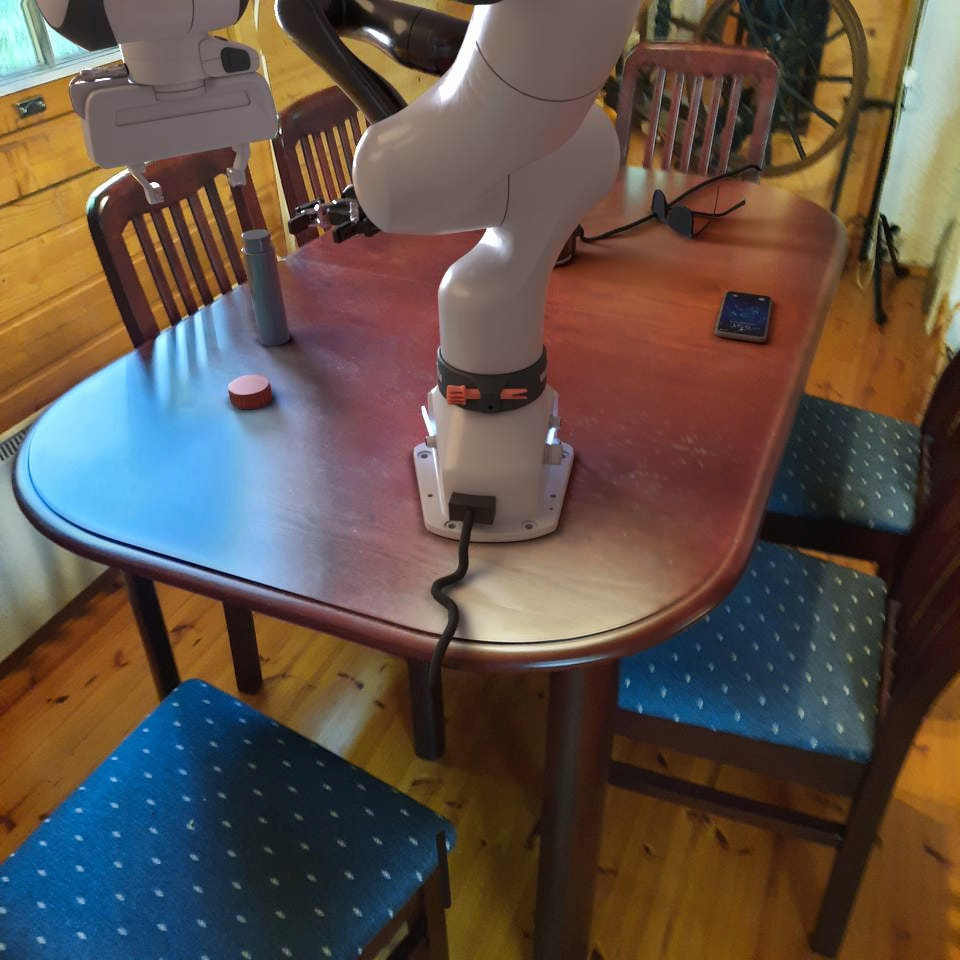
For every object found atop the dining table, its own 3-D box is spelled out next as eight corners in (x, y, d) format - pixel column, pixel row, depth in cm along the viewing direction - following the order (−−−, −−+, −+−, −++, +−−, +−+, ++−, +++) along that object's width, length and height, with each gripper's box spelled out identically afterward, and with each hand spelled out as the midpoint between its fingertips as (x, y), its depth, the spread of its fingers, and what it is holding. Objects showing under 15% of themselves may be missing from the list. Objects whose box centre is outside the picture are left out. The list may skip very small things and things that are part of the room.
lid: (235, 389, 115) (231, 374, 113) (275, 387, 115) (272, 373, 113) (227, 410, 110) (223, 395, 109) (269, 409, 110) (266, 394, 109)
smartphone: (773, 295, 132) (766, 339, 121) (772, 301, 133) (765, 345, 121) (725, 289, 134) (713, 331, 123) (724, 295, 135) (712, 337, 123)
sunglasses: (756, 231, 156) (761, 204, 153) (684, 241, 153) (688, 214, 150) (711, 202, 169) (714, 176, 166) (644, 211, 166) (646, 185, 163)
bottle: (282, 347, 124) (263, 241, 115) (254, 344, 125) (233, 238, 116) (295, 333, 128) (277, 229, 118) (267, 330, 129) (248, 227, 119)
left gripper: (70, 77, 81) (111, 221, 89) (272, 50, 90) (292, 183, 98) (55, 66, 85) (95, 204, 93) (250, 41, 94) (271, 169, 102)
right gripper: (338, 170, 138) (270, 201, 127) (411, 181, 132) (346, 214, 121) (344, 216, 143) (279, 249, 132) (415, 228, 137) (353, 264, 125)
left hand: (198, 193), depth 96 cm, fingers open, 8 cm apart
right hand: (312, 232), depth 126 cm, fingers open, 8 cm apart
